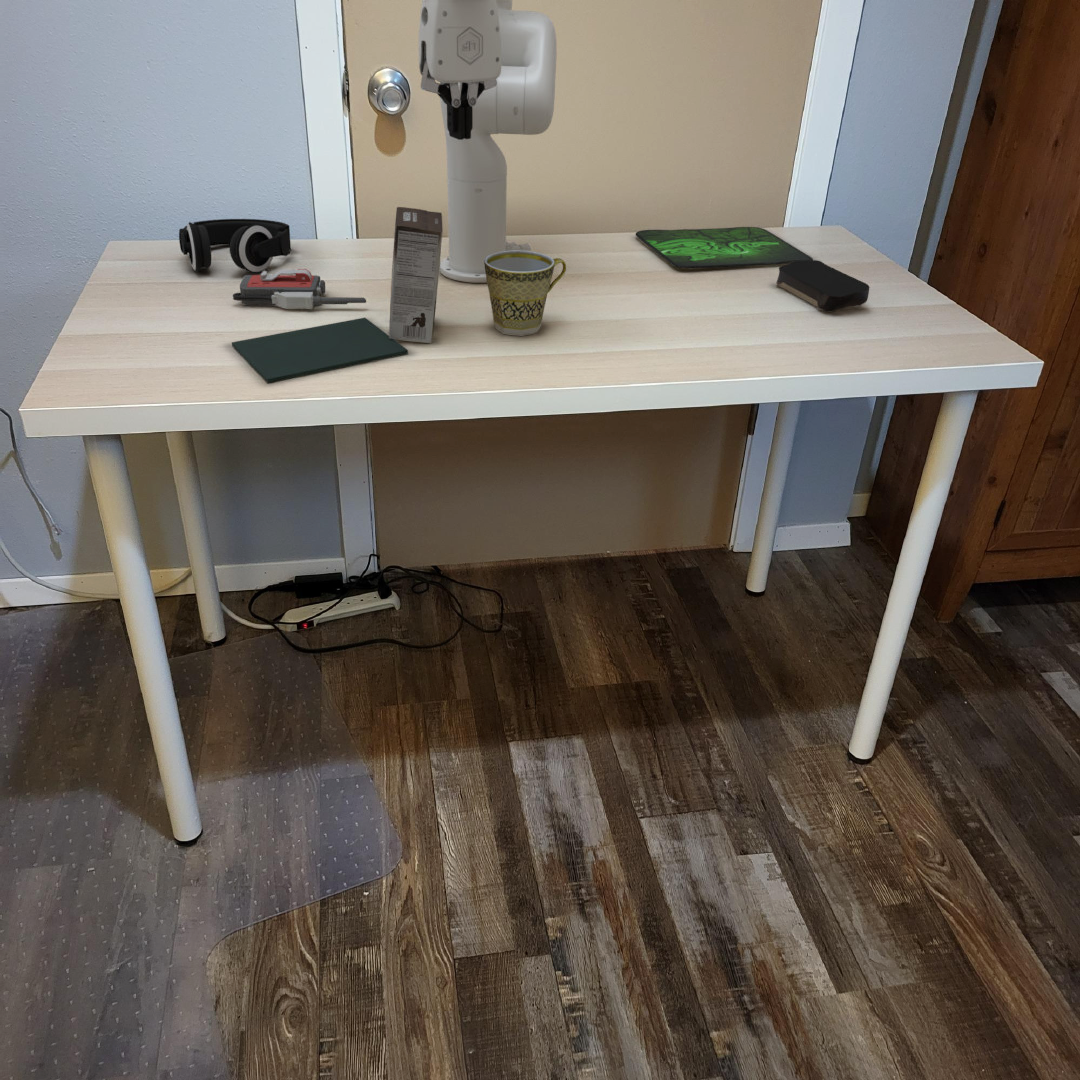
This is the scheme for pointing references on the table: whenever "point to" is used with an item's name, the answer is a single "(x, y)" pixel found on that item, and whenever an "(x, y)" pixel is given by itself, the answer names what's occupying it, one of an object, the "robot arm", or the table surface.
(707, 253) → the mouse mat
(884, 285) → the table surface
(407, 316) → the coffee box
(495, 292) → the ceramic cup
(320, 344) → the mat
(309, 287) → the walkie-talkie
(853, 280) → the black flat block
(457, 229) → the robot arm
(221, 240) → the headphones
